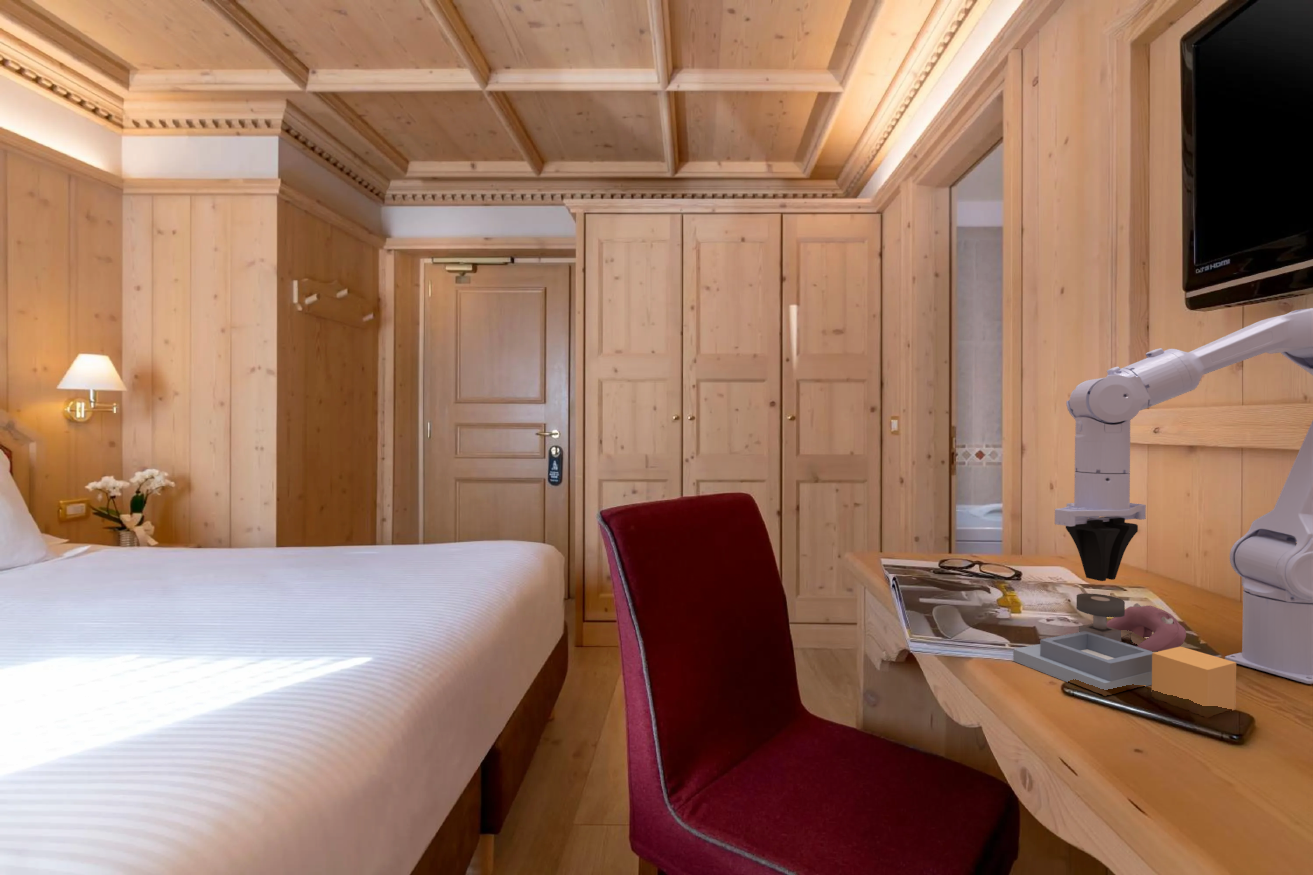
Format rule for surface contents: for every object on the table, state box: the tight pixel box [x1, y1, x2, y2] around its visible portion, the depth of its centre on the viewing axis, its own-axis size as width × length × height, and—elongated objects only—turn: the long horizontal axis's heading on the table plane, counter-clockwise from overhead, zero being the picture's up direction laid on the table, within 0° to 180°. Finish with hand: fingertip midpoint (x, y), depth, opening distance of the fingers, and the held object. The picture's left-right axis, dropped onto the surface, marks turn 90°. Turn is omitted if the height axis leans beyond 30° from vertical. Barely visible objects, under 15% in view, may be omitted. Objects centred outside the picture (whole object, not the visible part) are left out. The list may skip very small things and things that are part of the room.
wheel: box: [1076, 592, 1126, 629], centre depth 79 cm, size 5×5×4 cm
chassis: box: [1012, 623, 1154, 690], centre depth 75 cm, size 14×11×4 cm
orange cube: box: [1151, 645, 1237, 711], centre depth 66 cm, size 5×5×5 cm
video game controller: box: [1107, 602, 1187, 651], centre depth 81 cm, size 10×5×7 cm, turn 169°
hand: (1100, 578), depth 79 cm, fingers closed
